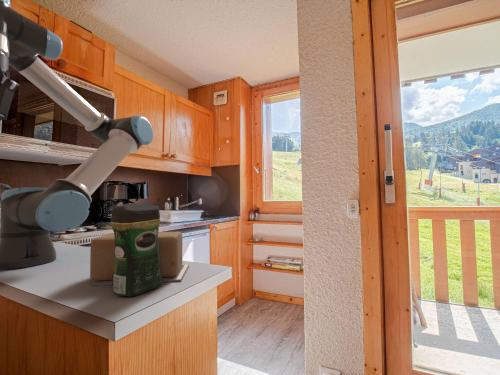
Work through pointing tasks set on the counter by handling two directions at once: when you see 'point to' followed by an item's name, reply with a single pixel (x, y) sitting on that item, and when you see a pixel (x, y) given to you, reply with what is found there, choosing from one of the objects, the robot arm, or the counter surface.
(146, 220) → the coffee jar
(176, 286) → the counter surface
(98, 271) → the wooden block
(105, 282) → the gray book
